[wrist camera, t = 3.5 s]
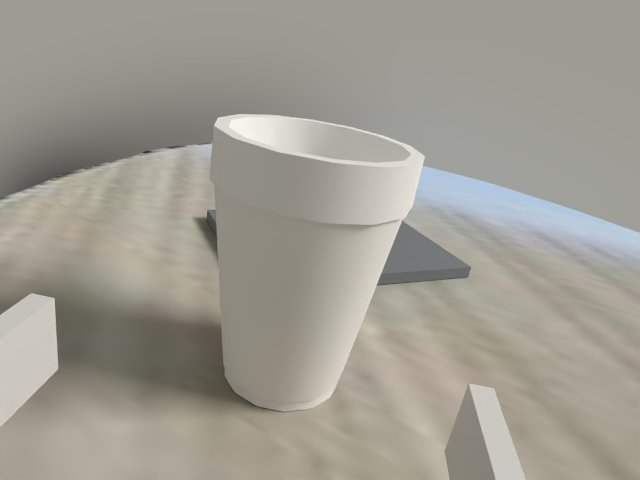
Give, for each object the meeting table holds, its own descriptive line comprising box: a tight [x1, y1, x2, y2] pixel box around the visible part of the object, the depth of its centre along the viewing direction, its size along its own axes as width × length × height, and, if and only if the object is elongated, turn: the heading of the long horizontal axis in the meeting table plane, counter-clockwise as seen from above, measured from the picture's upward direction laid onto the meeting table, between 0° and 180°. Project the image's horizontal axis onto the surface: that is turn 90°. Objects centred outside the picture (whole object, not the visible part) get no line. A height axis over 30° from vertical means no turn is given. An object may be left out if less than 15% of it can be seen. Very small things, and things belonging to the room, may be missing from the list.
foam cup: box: [210, 114, 425, 412], centre depth 24 cm, size 10×9×13 cm
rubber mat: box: [207, 210, 471, 285], centre depth 43 cm, size 20×14×1 cm
